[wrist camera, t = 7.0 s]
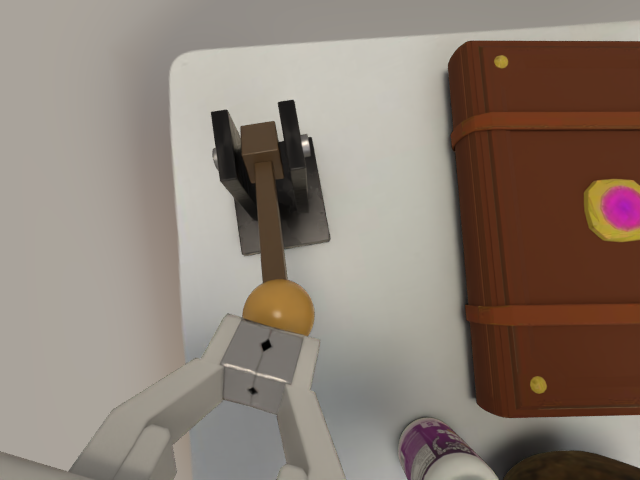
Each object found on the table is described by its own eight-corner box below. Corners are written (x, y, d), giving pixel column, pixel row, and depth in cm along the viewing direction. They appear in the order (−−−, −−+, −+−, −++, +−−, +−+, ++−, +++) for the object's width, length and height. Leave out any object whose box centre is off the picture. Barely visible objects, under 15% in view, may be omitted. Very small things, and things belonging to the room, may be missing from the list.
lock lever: (321, 353, 15) (317, 332, 12) (253, 366, 15) (234, 347, 12) (288, 153, 22) (281, 113, 20) (243, 160, 22) (230, 121, 20)
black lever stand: (329, 241, 30) (340, 210, 18) (244, 256, 29) (199, 233, 18) (311, 142, 31) (310, 53, 19) (230, 155, 31) (179, 72, 19)
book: (654, 73, 33) (714, 35, 28) (718, 393, 28) (804, 415, 23) (439, 72, 33) (462, 33, 28) (466, 398, 28) (499, 422, 23)
